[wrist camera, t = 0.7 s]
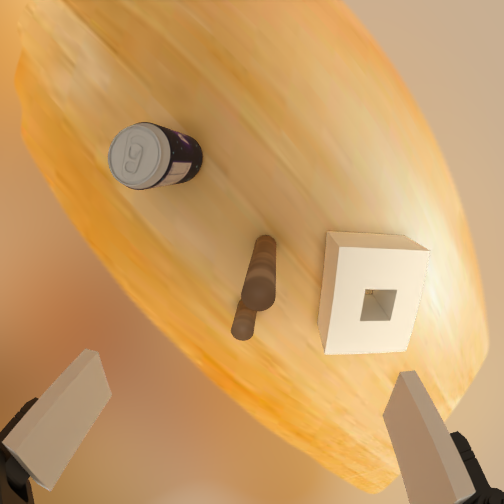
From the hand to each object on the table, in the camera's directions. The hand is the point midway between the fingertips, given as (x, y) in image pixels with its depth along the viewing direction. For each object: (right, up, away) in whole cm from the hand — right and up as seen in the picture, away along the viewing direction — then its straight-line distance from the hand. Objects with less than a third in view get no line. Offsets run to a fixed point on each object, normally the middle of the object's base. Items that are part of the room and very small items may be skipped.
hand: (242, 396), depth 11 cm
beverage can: (-8, +17, +21) cm, 28 cm away
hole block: (+14, +2, +23) cm, 27 cm away
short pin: (0, -1, +25) cm, 25 cm away
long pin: (+2, +7, +23) cm, 24 cm away
